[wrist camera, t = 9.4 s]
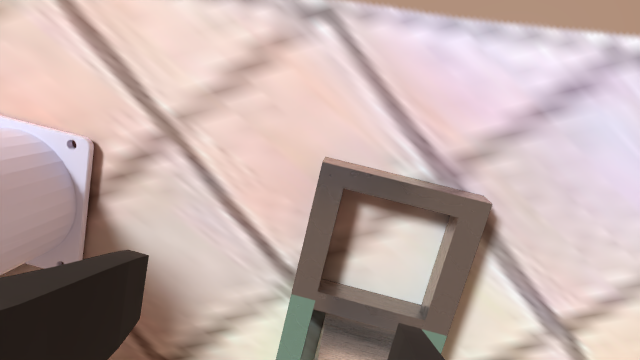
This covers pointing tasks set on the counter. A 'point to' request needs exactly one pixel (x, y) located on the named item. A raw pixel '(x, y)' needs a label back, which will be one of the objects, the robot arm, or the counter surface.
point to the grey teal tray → (369, 306)
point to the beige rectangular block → (352, 340)
